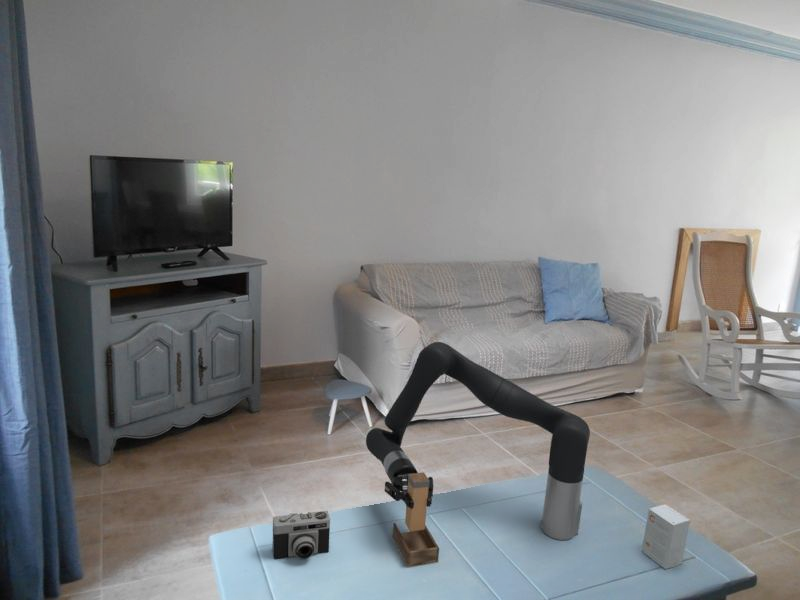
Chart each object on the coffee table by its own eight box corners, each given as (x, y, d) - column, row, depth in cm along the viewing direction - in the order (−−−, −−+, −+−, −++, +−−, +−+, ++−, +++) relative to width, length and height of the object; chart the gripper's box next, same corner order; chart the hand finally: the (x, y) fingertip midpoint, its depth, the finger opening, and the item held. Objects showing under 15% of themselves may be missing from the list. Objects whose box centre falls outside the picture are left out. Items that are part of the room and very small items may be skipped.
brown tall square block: (419, 520, 159) (423, 472, 155) (425, 529, 155) (429, 480, 151) (404, 522, 157) (408, 473, 154) (409, 531, 154) (413, 482, 150)
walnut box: (421, 532, 164) (422, 519, 163) (438, 562, 153) (439, 548, 152) (392, 536, 162) (393, 523, 161) (407, 567, 150) (408, 553, 149)
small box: (682, 564, 158) (691, 520, 155) (665, 570, 155) (673, 525, 152) (657, 545, 165) (665, 503, 162) (640, 551, 162) (648, 508, 159)
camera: (274, 570, 146) (275, 534, 144) (271, 548, 154) (272, 514, 151) (331, 562, 150) (333, 527, 148) (326, 542, 158) (327, 508, 155)
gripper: (376, 460, 164) (395, 494, 148) (425, 455, 169) (448, 488, 153) (374, 484, 166) (393, 521, 150) (423, 479, 170) (446, 514, 155)
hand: (420, 504), depth 152 cm, fingers closed on brown tall square block, 4 cm apart
